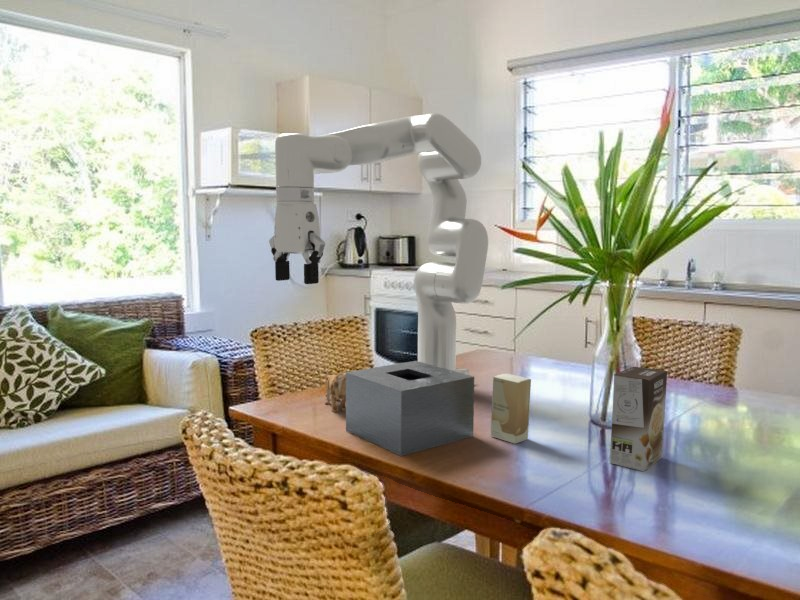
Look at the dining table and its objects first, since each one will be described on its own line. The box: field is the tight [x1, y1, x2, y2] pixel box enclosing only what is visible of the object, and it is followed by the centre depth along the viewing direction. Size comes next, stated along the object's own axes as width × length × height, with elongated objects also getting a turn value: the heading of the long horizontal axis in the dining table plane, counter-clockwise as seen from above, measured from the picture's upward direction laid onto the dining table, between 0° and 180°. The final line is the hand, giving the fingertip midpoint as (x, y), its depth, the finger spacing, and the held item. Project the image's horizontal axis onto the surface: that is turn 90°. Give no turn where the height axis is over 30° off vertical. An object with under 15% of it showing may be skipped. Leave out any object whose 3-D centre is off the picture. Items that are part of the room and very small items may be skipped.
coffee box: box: [609, 366, 668, 472], centre depth 118 cm, size 9×6×16 cm
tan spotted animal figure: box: [324, 372, 346, 413], centre depth 152 cm, size 15×5×9 cm, turn 26°
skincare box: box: [490, 373, 532, 445], centre depth 130 cm, size 6×4×12 cm
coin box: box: [345, 360, 475, 457], centre depth 133 cm, size 18×18×12 cm
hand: (296, 281), depth 137 cm, fingers open, 9 cm apart
